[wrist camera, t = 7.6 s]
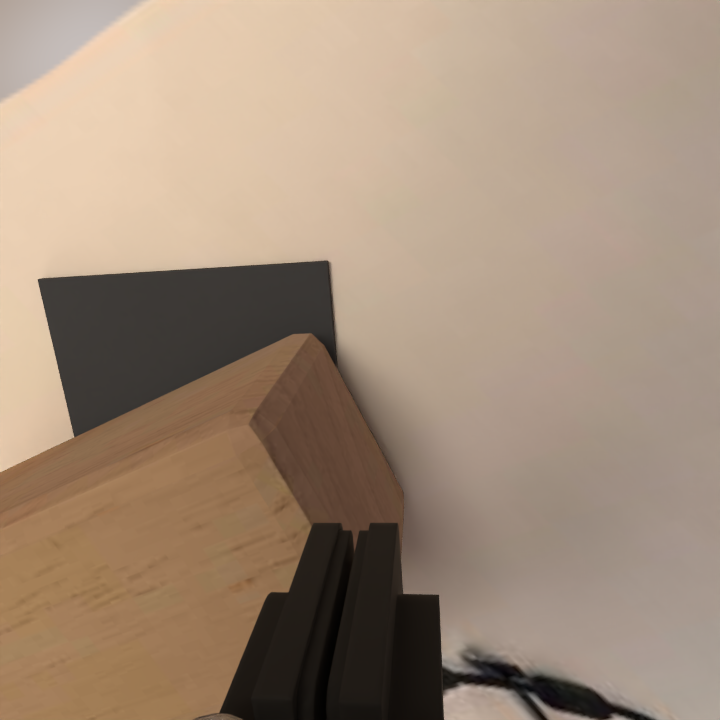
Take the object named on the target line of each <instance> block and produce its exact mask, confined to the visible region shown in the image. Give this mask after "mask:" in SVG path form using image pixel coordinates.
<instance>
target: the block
mask: <svg viewBox="0 0 720 720" xmlns="http://www.w3.org/2000/svg"><path fill="white" fill-rule="evenodd" d="M403 517H404V496H403V491H402V489H401V487H400V486H399V484H398V482H397V480H396V478H395V476H394V474H393V473H392V471H391V469H390V467H389V465H388V463H387V461H386V460H385V458H384V456H383V454H382V452H381V450H380V448H379V446H378V445H377V443H376V441H375V439H374V437H373V435H372V433H371V432H370V430H369V428H368V426H367V424H366V422H365V420H364V419H363V417H362V415H361V413H360V411H359V409H358V407H357V405H356V404H355V402H354V400H353V398H352V396H351V394H350V392H349V391H348V389H347V387H346V385H345V383H344V381H343V379H342V378H341V376H340V374H339V372H338V370H337V368H336V366H335V365H334V363H333V361H332V359H331V357H330V355H329V353H328V351H327V350H326V348H325V346H324V344H322V343H321V342H320V341H319V340H318V339H317V338H316V337H315V336H314V335H313V334H312V333H308V334H292V335H290V336H288V337H286V338H284V339H282V340H280V341H277V342H275V343H273V344H271V345H269V346H267V347H265V348H263V349H261V350H258V351H256V352H254V353H252V354H250V355H248V356H246V357H244V358H242V359H239V360H237V361H235V362H233V363H231V364H229V365H227V366H225V367H222V368H220V369H218V370H216V371H214V372H212V373H210V374H208V375H206V376H203V377H201V378H199V379H197V380H195V381H193V382H191V383H189V384H187V385H184V386H182V387H180V388H178V389H176V390H174V391H172V392H170V393H168V394H165V395H163V396H161V397H159V398H157V399H155V400H153V401H151V402H148V403H146V404H144V405H142V406H140V407H138V408H136V409H134V410H132V411H129V412H127V413H125V414H123V415H121V416H119V417H117V418H115V419H113V420H110V421H108V422H106V423H104V424H102V425H100V426H98V427H96V428H94V429H91V430H89V431H87V432H85V433H83V434H81V435H79V436H77V437H74V438H72V439H70V440H68V441H66V442H64V443H62V444H60V445H58V446H55V447H53V448H51V449H49V450H47V451H45V452H43V453H41V454H39V455H36V456H34V457H32V458H30V459H28V460H26V461H24V462H22V463H20V464H17V465H15V466H13V467H11V468H9V469H7V470H5V471H3V472H0V720H193V719H195V718H197V717H200V716H204V715H209V714H213V713H219V712H220V710H221V707H222V705H223V702H224V700H225V697H226V695H227V692H228V690H229V687H230V685H231V682H232V680H233V678H234V675H235V673H236V670H237V668H238V665H239V663H240V660H241V658H242V655H243V653H244V650H245V648H246V646H247V643H248V641H249V638H250V636H251V633H252V631H253V628H254V626H255V623H256V621H257V618H258V616H259V613H260V611H261V609H262V606H263V604H264V601H265V599H266V597H267V595H268V594H269V593H271V592H289V589H290V586H291V583H292V581H293V578H294V575H295V572H296V569H297V567H298V564H299V561H300V558H301V555H302V552H303V550H304V547H305V544H306V541H307V538H308V535H309V533H310V530H311V527H312V525H313V523H341V524H342V526H343V530H351V531H352V533H353V542H354V553H355V548H356V544H357V539H358V534H359V531H360V530H369V525H370V523H398V526H399V539H400V554H401V550H402V533H403Z"/></svg>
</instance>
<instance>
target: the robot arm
mask: <svg viewBox="0 0 720 720" xmlns="http://www.w3.org/2000/svg"><path fill="white" fill-rule="evenodd" d="M193 720H444V710H443V681H442V655H441V631H440V608H439V595H423V594H403V585H402V569H401V554H400V539H399V526H398V523H370V525H369V530H360V531H359V534H358V539H357V544H356V548H355V553H354V542H353V533H352V531H351V530H343V526H342V524H341V523H313V525H312V527H311V530H310V533H309V535H308V538H307V541H306V544H305V547H304V550H303V552H302V555H301V558H300V561H299V564H298V567H297V569H296V572H295V575H294V578H293V581H292V583H291V586H290V589H289V592H271V593H269V594H268V595H267V597H266V599H265V601H264V604H263V606H262V609H261V611H260V613H259V616H258V618H257V621H256V623H255V626H254V628H253V631H252V633H251V636H250V638H249V641H248V643H247V646H246V648H245V650H244V653H243V655H242V658H241V660H240V663H239V665H238V668H237V670H236V673H235V675H234V678H233V680H232V682H231V685H230V687H229V690H228V692H227V695H226V697H225V700H224V702H223V705H222V707H221V710H220V712H219V713H213V714H209V715H204V716H200V717H197V718H195V719H193Z"/></svg>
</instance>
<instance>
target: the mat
mask: <svg viewBox="0 0 720 720" xmlns="http://www.w3.org/2000/svg"><path fill="white" fill-rule="evenodd" d="M38 283H39V287H40V292H41V296H42V300H43V304H44V309H45V313H46V317H47V322H48V326H49V330H50V334H51V339H52V343H53V347H54V351H55V356H56V360H57V364H58V369H59V373H60V377H61V381H62V386H63V390H64V394H65V399H66V403H67V407H68V411H69V416H70V420H71V424H72V429H73V433H74V437H77V436H79V435H81V434H83V433H85V432H87V431H89V430H91V429H94V428H96V427H98V426H100V425H102V424H104V423H106V422H108V421H110V420H113V419H115V418H117V417H119V416H121V415H123V414H125V413H127V412H129V411H132V410H134V409H136V408H138V407H140V406H142V405H144V404H146V403H148V402H151V401H153V400H155V399H157V398H159V397H161V396H163V395H165V394H168V393H170V392H172V391H174V390H176V389H178V388H180V387H182V386H184V385H187V384H189V383H191V382H193V381H195V380H197V379H199V378H201V377H203V376H206V375H208V374H210V373H212V372H214V371H216V370H218V369H220V368H222V367H225V366H227V365H229V364H231V363H233V362H235V361H237V360H239V359H242V358H244V357H246V356H248V355H250V354H252V353H254V352H256V351H258V350H261V349H263V348H265V347H267V346H269V345H271V344H273V343H275V342H277V341H280V340H282V339H284V338H286V337H288V336H290V335H292V334H308V333H312V334H313V335H314V336H315V337H316V338H317V339H318V340H319V341H320V342H321V343H322V344H324V346H325V348H326V350H327V351H328V353H329V355H330V357H331V359H332V361H333V363H334V365H335V366H336V368H337V357H336V346H335V334H334V323H333V311H332V300H331V288H330V277H329V265H328V261H315V262H299V263H283V264H267V265H251V266H235V267H218V268H202V269H186V270H170V271H154V272H138V273H122V274H106V275H90V276H74V277H58V278H42V279H38ZM337 370H338V369H337Z"/></svg>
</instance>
